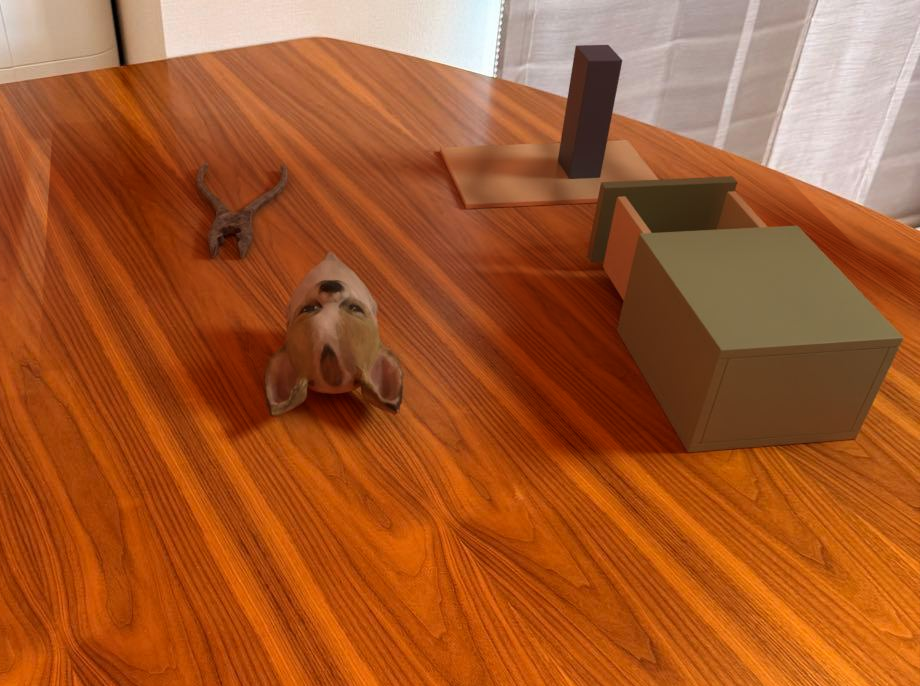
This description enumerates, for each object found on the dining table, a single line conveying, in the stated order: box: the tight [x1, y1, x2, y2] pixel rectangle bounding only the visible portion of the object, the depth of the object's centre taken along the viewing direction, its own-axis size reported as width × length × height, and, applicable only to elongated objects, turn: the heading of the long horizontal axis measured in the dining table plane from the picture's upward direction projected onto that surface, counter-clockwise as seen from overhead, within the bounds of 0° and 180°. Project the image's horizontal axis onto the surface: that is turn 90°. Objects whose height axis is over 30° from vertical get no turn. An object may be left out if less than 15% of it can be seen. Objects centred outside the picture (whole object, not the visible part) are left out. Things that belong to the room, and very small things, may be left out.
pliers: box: [195, 161, 289, 259], centre depth 98 cm, size 10×1×20 cm
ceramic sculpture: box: [262, 251, 404, 418], centre depth 75 cm, size 11×9×15 cm
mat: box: [439, 139, 660, 210], centre depth 106 cm, size 22×14×1 cm, turn 99°
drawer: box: [586, 175, 768, 302], centre depth 86 cm, size 20×12×7 cm, turn 9°
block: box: [558, 44, 623, 179], centre depth 102 cm, size 4×4×12 cm
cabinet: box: [616, 225, 904, 454], centre depth 76 cm, size 17×14×9 cm
